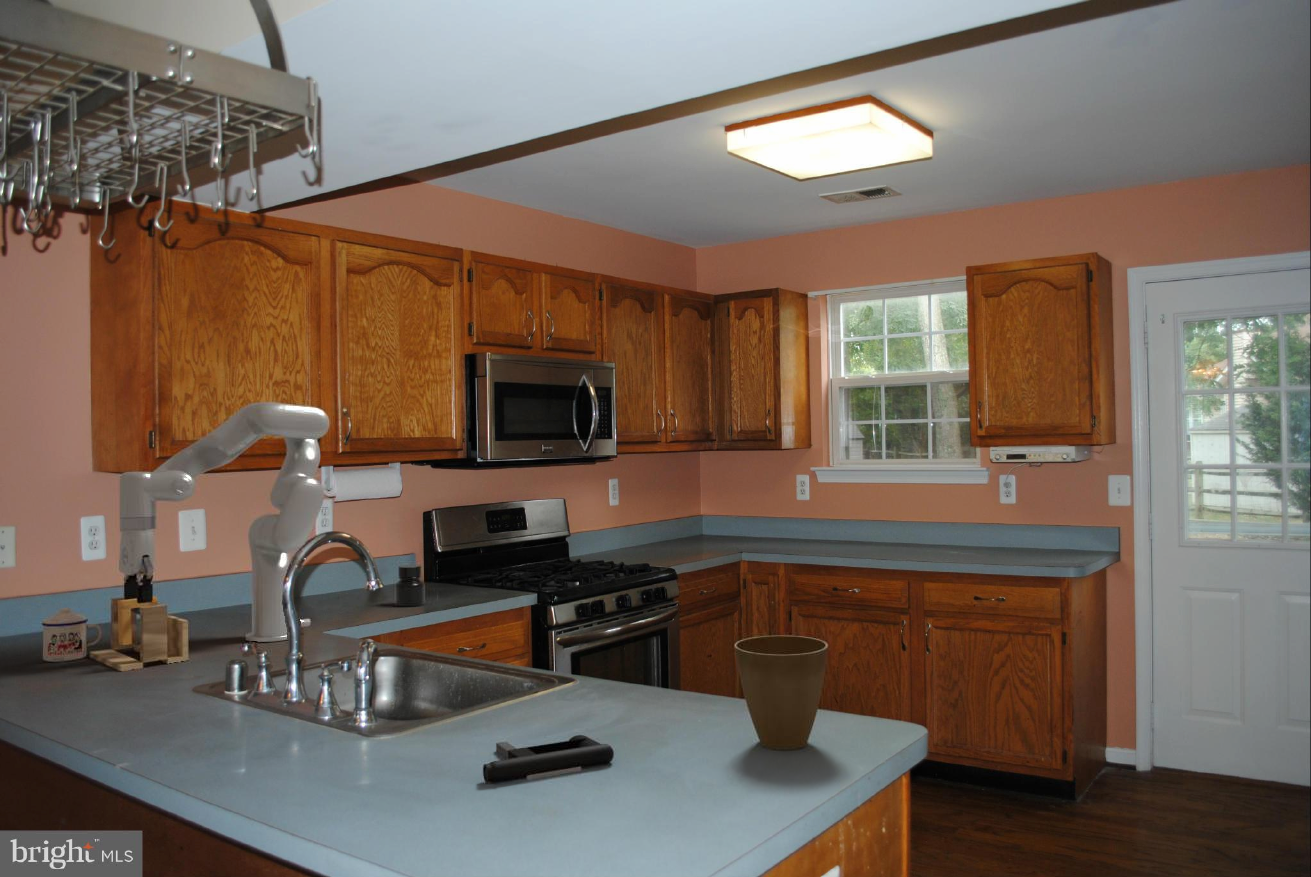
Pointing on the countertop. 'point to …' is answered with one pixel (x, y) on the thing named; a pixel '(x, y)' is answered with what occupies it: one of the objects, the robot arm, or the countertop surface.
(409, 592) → the ink bottle
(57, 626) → the teacup with lid
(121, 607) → the yellow wooden arch
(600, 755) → the door handle
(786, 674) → the plant pot
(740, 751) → the countertop surface
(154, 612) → the wooden rack
